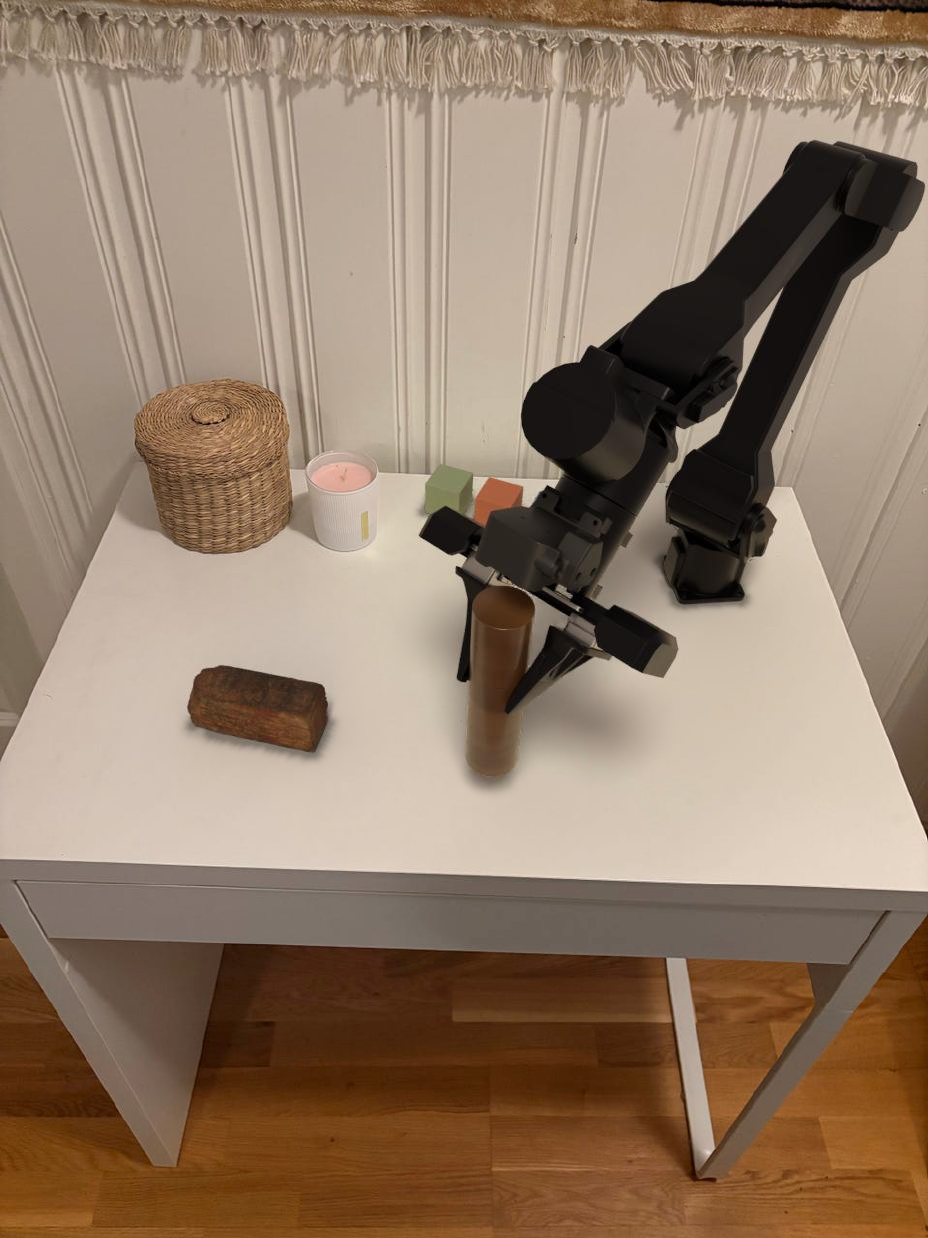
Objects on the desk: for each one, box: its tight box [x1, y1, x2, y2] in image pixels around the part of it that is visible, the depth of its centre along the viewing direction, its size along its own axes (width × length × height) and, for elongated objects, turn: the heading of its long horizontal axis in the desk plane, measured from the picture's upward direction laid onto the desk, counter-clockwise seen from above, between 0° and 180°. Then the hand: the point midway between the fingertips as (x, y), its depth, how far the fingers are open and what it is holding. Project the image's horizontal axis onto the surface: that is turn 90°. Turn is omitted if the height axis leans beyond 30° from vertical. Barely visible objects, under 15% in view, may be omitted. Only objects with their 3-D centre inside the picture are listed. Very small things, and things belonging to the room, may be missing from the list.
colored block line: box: [424, 463, 542, 526], centre depth 95 cm, size 15×4×4 cm, turn 67°
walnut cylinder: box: [464, 585, 536, 778], centre depth 65 cm, size 4×4×16 cm
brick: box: [186, 664, 329, 752], centre depth 75 cm, size 11×4×5 cm, turn 77°
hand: (484, 697), depth 64 cm, fingers closed on walnut cylinder, 4 cm apart
